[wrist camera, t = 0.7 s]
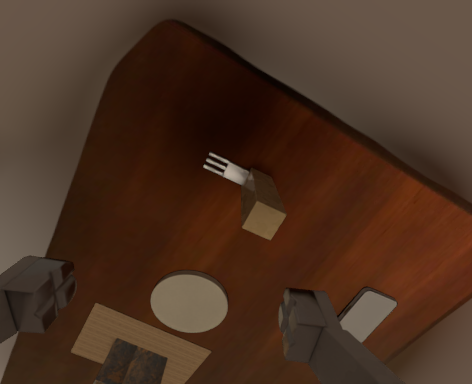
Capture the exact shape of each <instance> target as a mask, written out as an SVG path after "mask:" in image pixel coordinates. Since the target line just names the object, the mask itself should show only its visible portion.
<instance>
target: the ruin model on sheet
mask: <svg viewBox="0 0 472 384" xmlns="http://www.w3.org/2000/svg"><path fill="white" fill-rule="evenodd" d="M71 352H72V353H74V354H77V355H80V356H82V357H85V358H88V359H90V360H93V361H96V362H98V363H101V364H103V365H102V367H101V369H100V371H99V373H98V375H97V377H96V379H95V381H94V383H93V384H95V383H96V382H100V383H96V384H184V383H185V382H186V381H187V380H188V379H189V377H190V376H191V375H192V374H193V373H194V372H195V370H196V369H197V368H198V367H199V366H200V364H201V363H202V362H203V361H204V360H205V359H206V357H207V356H208V355H209V354H210V353H211V352H212V351H210V350H207V349H205V348H202V347H200V346H198V345H195V344H193V343H191V342H188V341H186V340H183V339H181V338H179V337H176V336H174V335H172V334H169V333H167V332H164V331H162V330H160V329H157V328H155V327H152V326H150V325H148V324H145V323H143V322H141V321H138V320H136V319H133V318H131V317H129V316H126V315H124V314H122V313H119V312H117V311H114V310H112V309H110V308H107V307H105V306H102V305H100V304H98V303H95V305H94V307H93V309H92V311H91V313H90V315H89V317H88V319H87V321H86V323H85V325H84V327H83V329H82V331H81V333H80V335H79V337H78V339H77V341H76V343H75V345H74V347H73V349H72V351H71Z"/></svg>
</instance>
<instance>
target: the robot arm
mask: <svg viewBox="0 0 472 384" xmlns="http://www.w3.org/2000/svg"><path fill="white" fill-rule="evenodd" d="M74 270H75V269H74V264H73V262H71V261H66V260H59V259H52V258H45V257H43V258H42V257H36V256H27V257H24V258H22V259H21V260H20V261H18V262H17V263H16V264H14V265H13V266H12V267H10V268H9V269H7V270H6V271H5V272H3V273H2V274H1V275H0V343H2V342H3V341H5V340H6V339H8V338H10V337H11V336H13V335H14V334H16V333H17V331H21V332H33V333H44V332H45V331H46V330H47V329H48V328H49V326H50V325H51V324H52V323H53V322H54V320H55V319H56V318H57V317H58V310H59V309H61V308H63V307H65V306H67V305H68V303H69V302H70V301H71V300H72V298H73V296H74V294H75V292H76V287H77V282H76V278H75V277H74V276H73V275H72V272H73V271H74ZM283 296H284V301H283V302H282V303H281V305H280V309H279V327H280V331H281V332H282V333H283V334H284V336H283V339H282V345H283V351H284V356H285V360H290V361H297V362H304V363H309V366H310V367H311V369H312V370H313V372H314V373H315V375H316V376H317V377H318V379H319V380H320V382H321V383H322V384H405V383H404V382H403V381H402V380H400V378H398V377H397V376H396V375H395V374H394V373H393V372H392V371H391V370H390V369H389V368H388V367H387V366H385V365H384V364H383V363H382V362H381V361H380V360H379V359H378V358H377V357H376V356H375V355H373V354H372V353H371V352H370V351H369V350H368V349H367V348H366V347H365V346H364V345H363V344H362V343H360V342H359V341H358V340H357V339H356V338H355V337H354V336H353V335H352V334H351V333H350V332H349V331H347V330H343V329H342V326H341V324H340V322H339V320H338V317H337V315H336V313H335V311H334V309H333V306H332V304H331V302H330V300H329V297H328V295H327V293H326V292H325V291H315V290H305V289H296V288H287V287H286V289H285V291H284V294H283Z"/></svg>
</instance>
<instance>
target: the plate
mask: <svg viewBox="0 0 472 384" xmlns="http://www.w3.org/2000/svg"><path fill="white" fill-rule="evenodd" d="M151 307H152V310H153V312H154V314H155V315H156V317H157V318H158V319H159V320H160V321H161V322H162V323H164V324H165V325H167V326H168V327H170V328H173V329H175V330H178V331H182V332H189V333H196V332H203V331H207V330H210V329H212V328H214V327H216V326H217V325H218V324H220V323H221V322H222V320H223V319H224V318H225V316H226V313H227V310H228V296H227V293H226V291H225V289H224V287H223V286H222V285H221V284H220V283H219V282H218V281H217V280H216V279H215V278H213V277H211V276H210V275H207V274H205V273H202V272H198V271H192V270H182V271H176V272H173V273H170V274H168V275H166V276H164V277H163V278H162V279H161V280H159V282H158V283H157V284H156V286H155V288H154V290H153V292H152V295H151Z"/></svg>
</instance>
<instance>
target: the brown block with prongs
mask: <svg viewBox="0 0 472 384" xmlns="http://www.w3.org/2000/svg"><path fill="white" fill-rule="evenodd" d="M209 155H210V156H212V157H214V158H216V159H218V160H220V161H223V162H225V163H227V166H225V165H223V164H221V163H219V162H217V161H215V160H212V159H210V158H208V157H207V159H206V161H207V162H209V163H211V164H213V165H215V166H217V167H219V168H221V169H224V172H222V171H220V170H218V169H216V168H214V167H212V166H210V165H207V164H204V166H203V167H204V168H206V169H208V170H210V171H212V172H214V173H216V174H219V175H221V176H223V177H225V178H227V179H229V180H231V181H233V182H236V183H238V184H240V185H242V186H241V214H242V228H243V229H246V230H248V231H250V232H252V233H255V234H257V235H259V236H262V237H264V238H266V239H268V240H271V239H272V237H273V235H274V234H275V232H276V231H277V229H278V228H279V226H280V225H281V223H282V221H283V220H284V218H285V217H286V215H287V214H286V211H285V209H284V206H283V204H282V201H281V199H280V197H279V194H278V192H277V189H276V187H275V184H274V182H273V179H272V177H270V176H268V175H266V174H264V173H262V172H260V171H258V170H256V169H254V168H251V169H250V170H248V169H246V168H244V167H242V166H240V165H238V164H236V163H234V162H231V161H229V160H228V159H226V158H224V157H222V156H220V155H218V154H216V153H214V152H212V151H210V153H209Z"/></svg>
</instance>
